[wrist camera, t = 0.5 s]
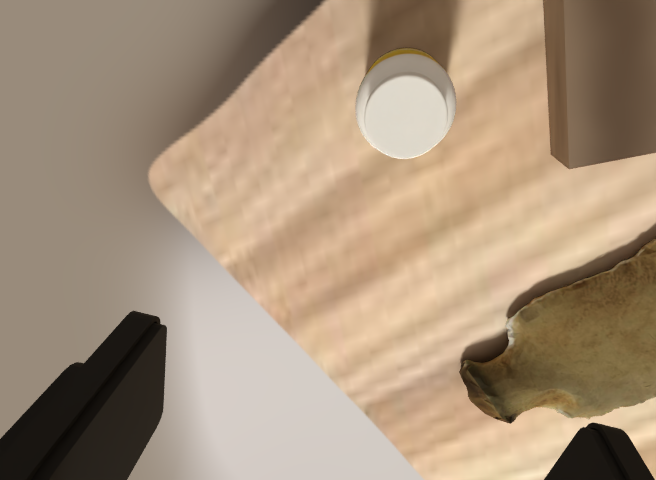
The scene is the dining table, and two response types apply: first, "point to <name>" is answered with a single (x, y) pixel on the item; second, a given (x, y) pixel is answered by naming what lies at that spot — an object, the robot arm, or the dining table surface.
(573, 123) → the socket block
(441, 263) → the dining table surface
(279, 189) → the dining table surface
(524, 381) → the stone tool
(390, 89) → the supplement bottle
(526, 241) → the dining table surface
